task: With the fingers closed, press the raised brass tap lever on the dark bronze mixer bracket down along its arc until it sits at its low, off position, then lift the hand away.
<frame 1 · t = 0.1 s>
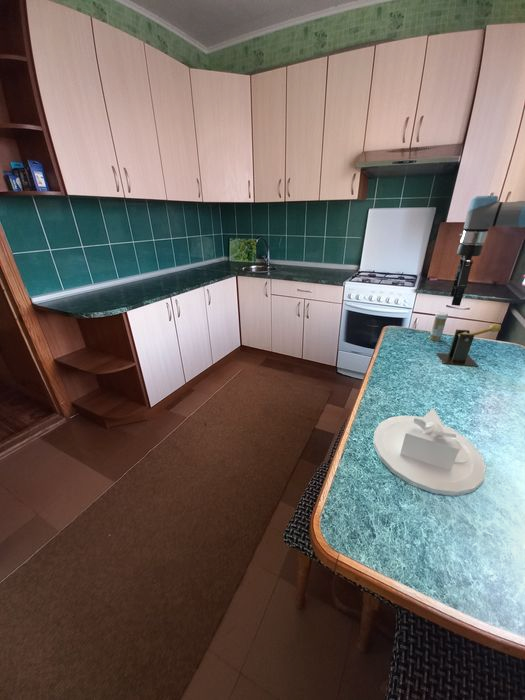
hand: (454, 300, 115), 21 cm above the table, tool pointing down, fingers open, 13 cm apart
mixer tap: (455, 362, 114), on the table
dish: (424, 452, 74), on the table
sprinkles bottle: (434, 341, 131), on the table
tap lever: (479, 332, 107), point 13 cm above the table, hinge at 25.0°
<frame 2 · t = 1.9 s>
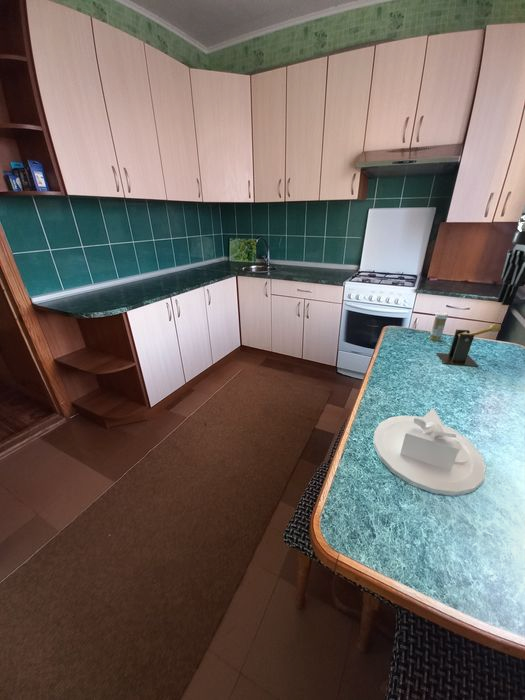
hand: (504, 303, 101), 25 cm above the table, tool pointing down, fingers open, 3 cm apart
nothing on the table moved.
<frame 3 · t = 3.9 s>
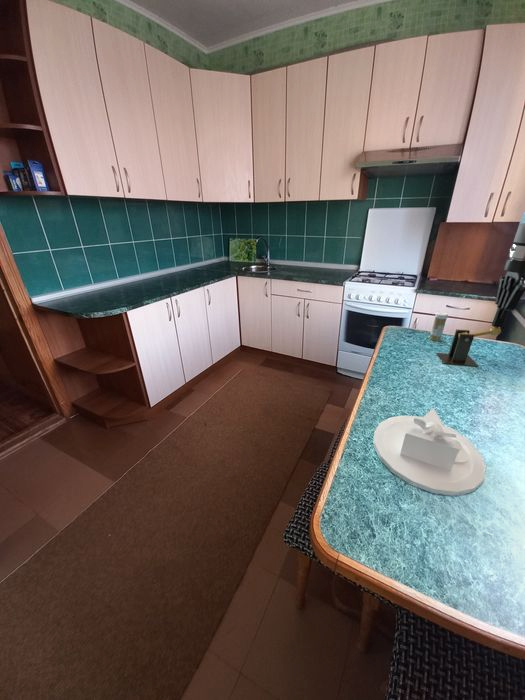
hand: (496, 326, 105), 16 cm above the table, tool pointing down, fingers closed
tap lever: (479, 333, 107), point 13 cm above the table, hinge at 17.6°, touching gripper
everything else where it was.
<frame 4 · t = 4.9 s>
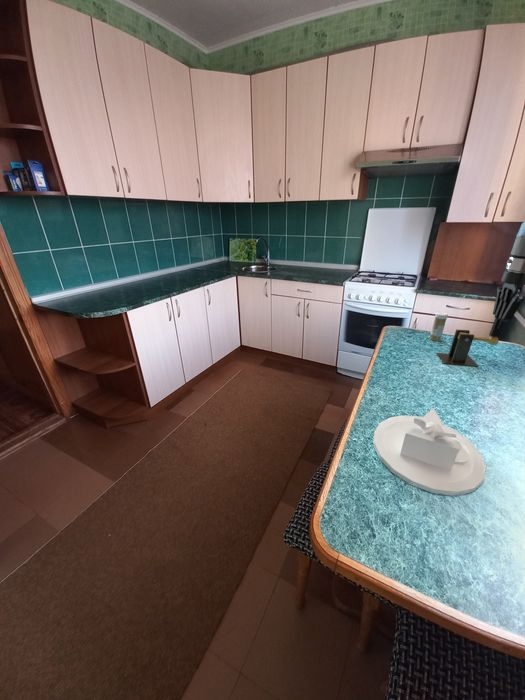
hand: (494, 336, 106), 12 cm above the table, tool pointing down, fingers closed
tap lever: (478, 338, 108), point 11 cm above the table, hinge at -4.7°, touching gripper
everything else where it was.
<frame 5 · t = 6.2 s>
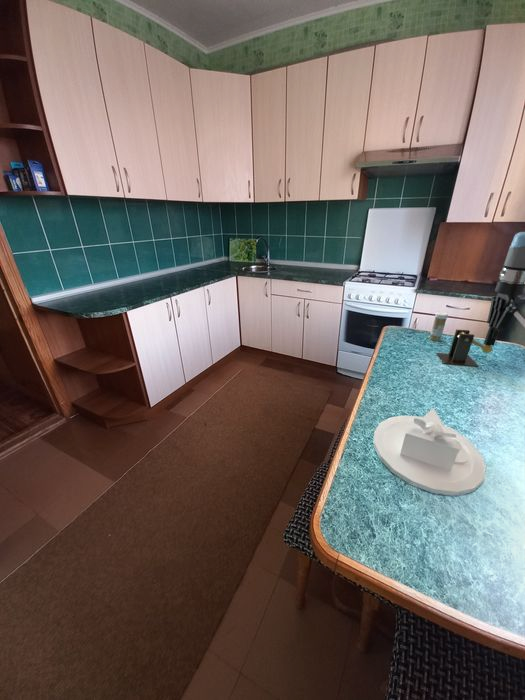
hand: (488, 344, 108), 9 cm above the table, tool pointing down, fingers closed
tap lever: (475, 342, 109), point 9 cm above the table, hinge at -25.6°, touching gripper
everything else where it was.
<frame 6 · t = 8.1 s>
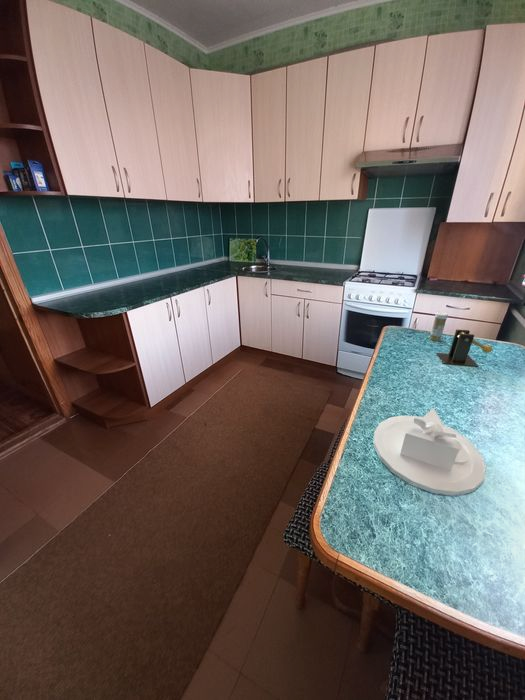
tap lever: (475, 342, 109), point 9 cm above the table, hinge at -25.6°
everything else where it was.
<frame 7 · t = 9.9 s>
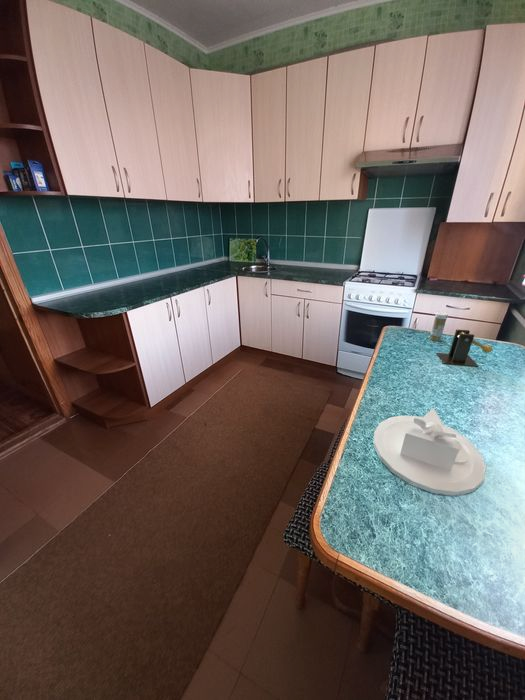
nothing on the table moved.
at the end: tap lever at -26° (first picture: +25°); sprinkles bottle moved 0.2 cm from its start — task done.
